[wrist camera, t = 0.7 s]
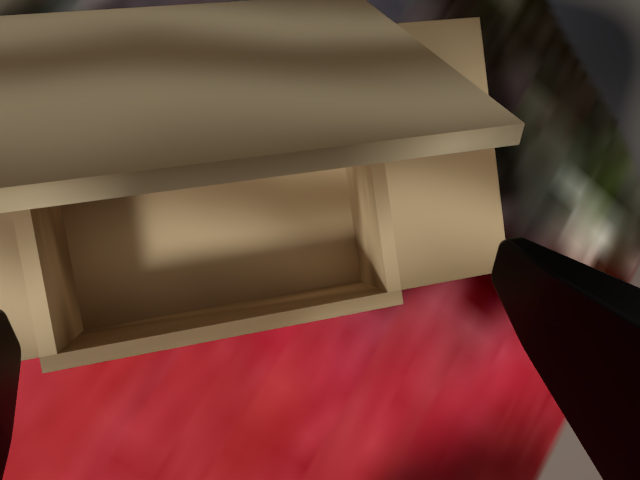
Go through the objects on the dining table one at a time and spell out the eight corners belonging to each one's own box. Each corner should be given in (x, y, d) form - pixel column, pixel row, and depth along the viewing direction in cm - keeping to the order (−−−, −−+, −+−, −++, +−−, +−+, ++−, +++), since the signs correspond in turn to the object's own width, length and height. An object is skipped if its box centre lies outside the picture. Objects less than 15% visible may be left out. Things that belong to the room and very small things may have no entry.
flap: (518, 144, 11) (524, 123, 11) (-184, 237, 8) (-203, 213, 8) (356, 7, 20) (357, -7, 20) (-14, 32, 17) (-19, 17, 17)
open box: (460, 272, 27) (510, 283, 22) (-49, 365, 22) (-115, 403, 17) (432, 39, 26) (477, 2, 21) (-107, 83, 21) (-192, 48, 16)
